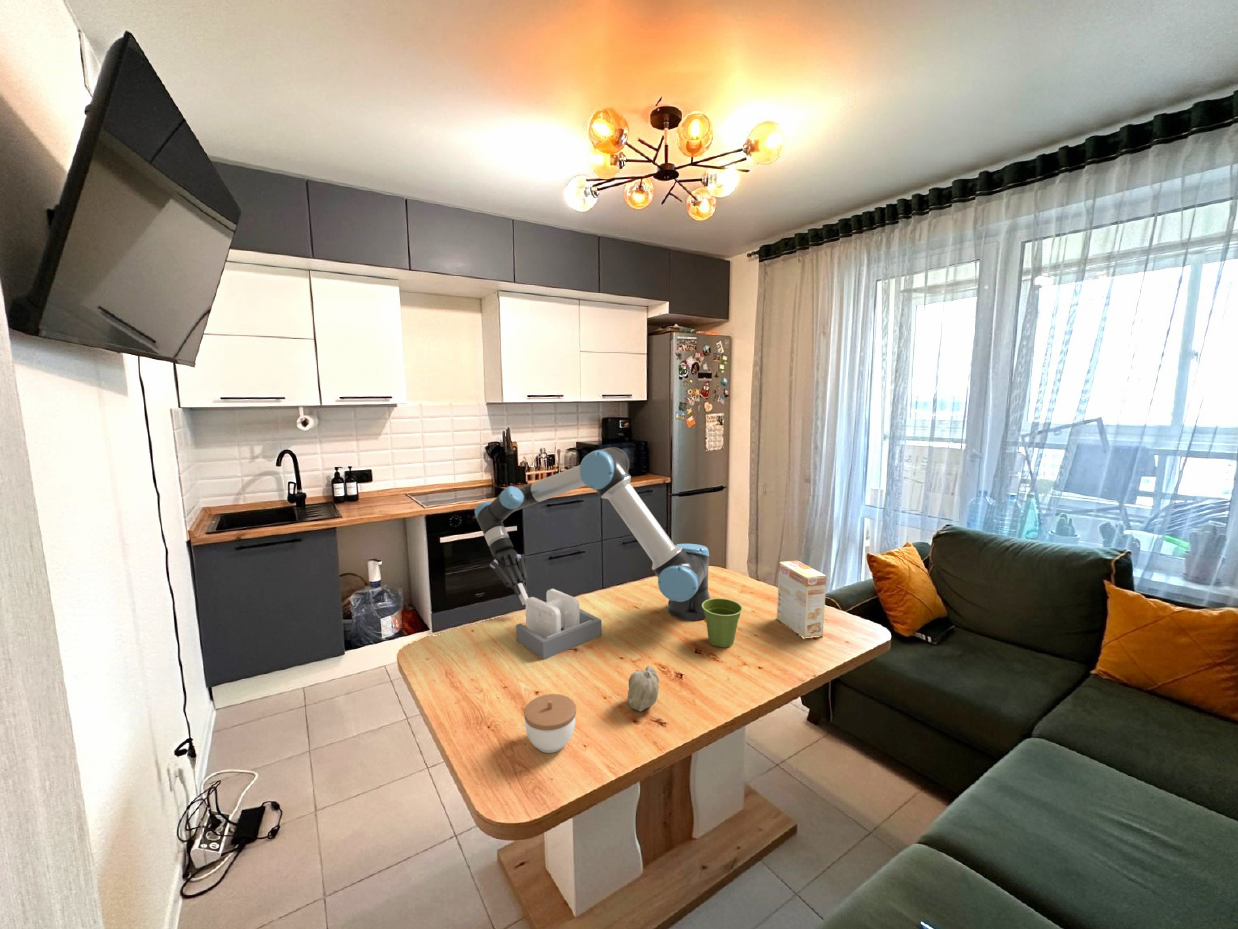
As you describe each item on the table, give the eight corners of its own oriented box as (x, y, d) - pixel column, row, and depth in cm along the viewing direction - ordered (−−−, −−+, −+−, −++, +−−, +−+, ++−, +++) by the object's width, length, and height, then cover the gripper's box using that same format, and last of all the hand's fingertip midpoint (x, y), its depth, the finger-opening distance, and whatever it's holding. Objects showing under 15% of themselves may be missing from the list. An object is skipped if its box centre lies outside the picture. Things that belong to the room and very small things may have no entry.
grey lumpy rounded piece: (645, 703, 121) (652, 661, 123) (666, 716, 114) (673, 671, 115) (613, 703, 116) (620, 659, 118) (633, 717, 109) (640, 670, 111)
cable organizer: (582, 636, 150) (581, 599, 149) (555, 649, 142) (554, 610, 141) (550, 621, 160) (550, 586, 159) (524, 632, 153) (523, 596, 151)
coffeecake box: (823, 637, 149) (827, 575, 147) (803, 640, 148) (806, 577, 145) (794, 616, 164) (797, 559, 161) (775, 618, 162) (778, 561, 159)
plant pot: (693, 642, 146) (693, 606, 145) (715, 629, 155) (716, 594, 153) (727, 657, 138) (728, 618, 137) (749, 642, 147) (750, 605, 145)
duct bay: (601, 635, 151) (601, 619, 150) (543, 659, 137) (543, 642, 136) (572, 619, 161) (572, 605, 161) (516, 640, 147) (516, 624, 147)
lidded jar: (538, 722, 110) (538, 683, 109) (583, 731, 107) (583, 691, 106) (515, 755, 100) (514, 712, 99) (564, 766, 97) (563, 722, 96)
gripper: (512, 544, 179) (538, 602, 169) (478, 551, 170) (504, 613, 160) (519, 533, 174) (547, 591, 164) (485, 540, 165) (512, 602, 155)
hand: (526, 602), depth 162 cm, fingers closed
